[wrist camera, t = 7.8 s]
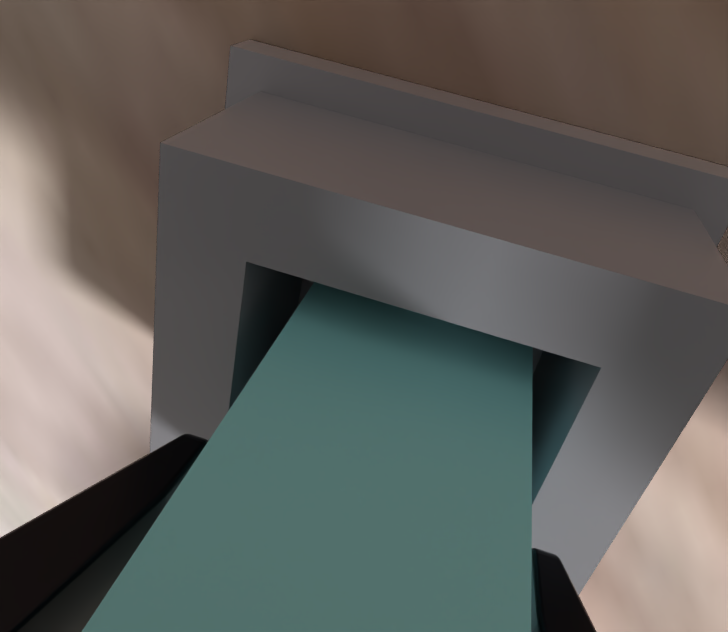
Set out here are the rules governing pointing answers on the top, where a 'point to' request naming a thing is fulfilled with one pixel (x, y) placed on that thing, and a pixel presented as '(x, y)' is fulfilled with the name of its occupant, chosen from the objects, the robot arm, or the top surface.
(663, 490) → the top surface
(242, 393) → the teal peg
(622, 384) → the socket block
